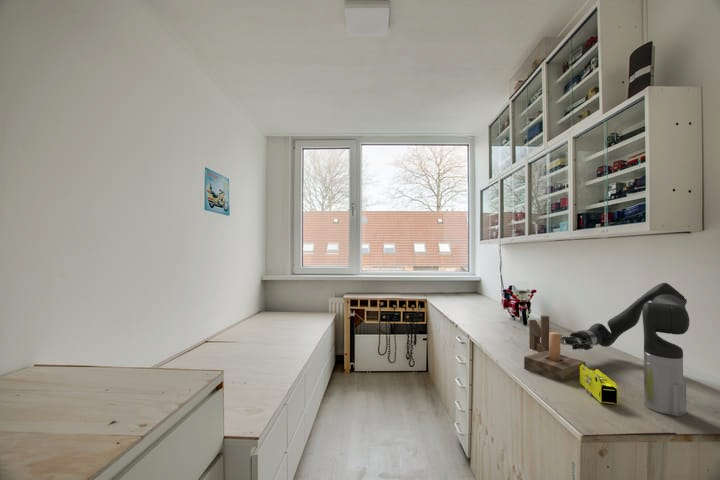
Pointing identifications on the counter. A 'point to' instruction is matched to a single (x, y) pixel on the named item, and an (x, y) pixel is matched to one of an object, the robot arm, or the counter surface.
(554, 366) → the socket block
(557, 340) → the pin
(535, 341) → the wooden block
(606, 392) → the yellow toy chassis
